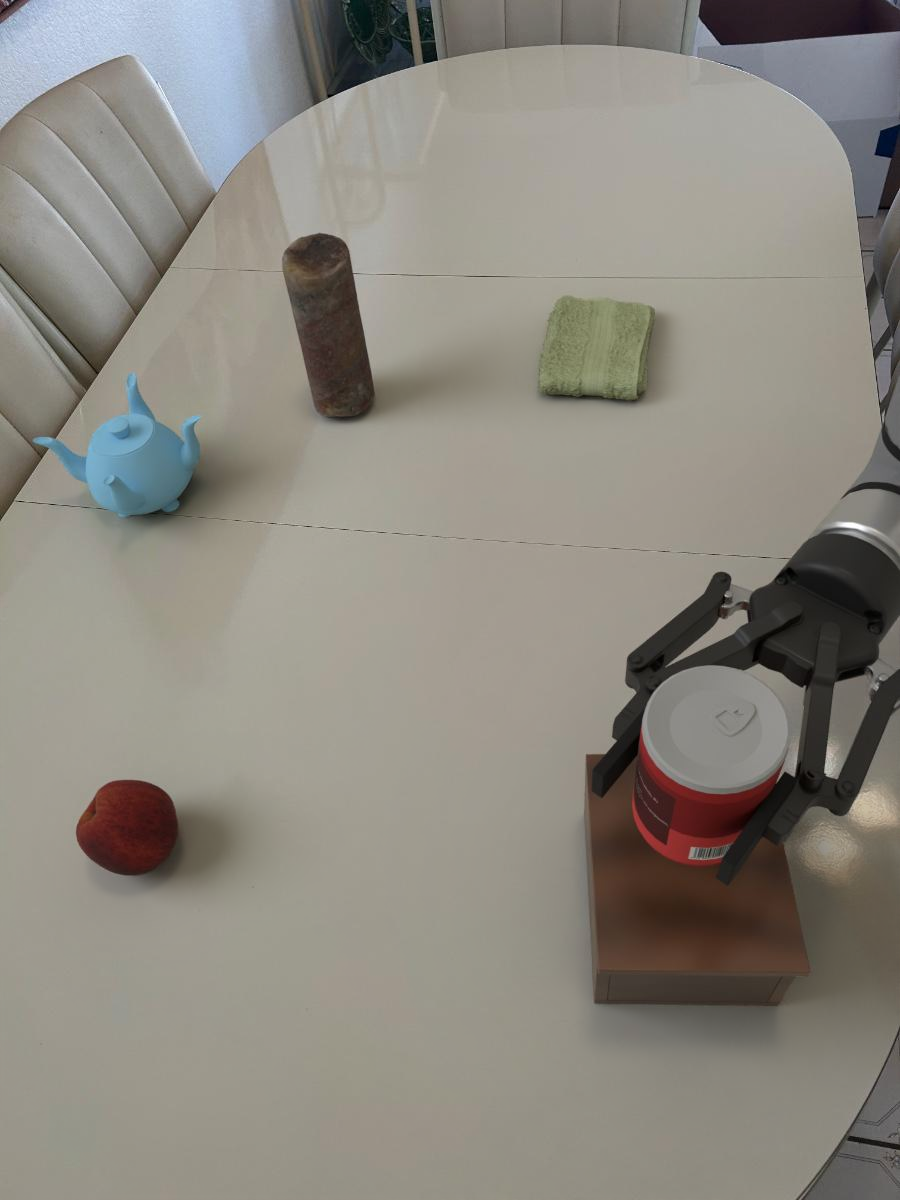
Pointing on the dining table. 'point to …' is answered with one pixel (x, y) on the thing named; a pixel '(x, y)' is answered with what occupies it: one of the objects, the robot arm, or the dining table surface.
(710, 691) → the canned food
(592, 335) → the washcloth
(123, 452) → the teapot
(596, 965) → the chest
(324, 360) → the candle
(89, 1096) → the dining table surface
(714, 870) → the lid
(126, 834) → the apple
